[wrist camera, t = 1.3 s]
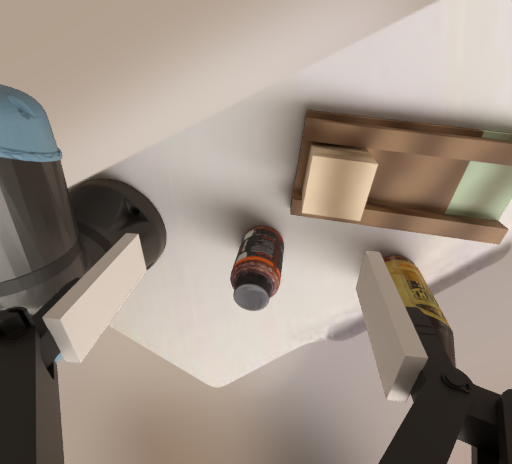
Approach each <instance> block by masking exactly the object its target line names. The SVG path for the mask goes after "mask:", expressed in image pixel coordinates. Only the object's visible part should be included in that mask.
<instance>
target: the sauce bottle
mask: <svg viewBox="0 0 512 464" xmlns="http://www.w3.org/2000/svg"><path fill="white" fill-rule="evenodd" d="M383 260H384V262H385V264H386V266H387V269H388V271H389V273H390V275H391V277H392V280H393V282H394V284H395V286H396V288H397V291H398V293H399V295H400V297H401V299H402V301H403V304H404V306H407V307H418V308H419V309H420V310H421V311H422V312H423V313H424V314H425V315H426V316H427V317H428V319H429V321H430V323H431V324H432V328H434V330H435V332H436V334H437V336H438V338H439V340H440V342H441V343H442V345H443V347H444V349H445V351H446V353H447V355H448V357H449V359H450V360H451V362H452V364H453V366H454V367H455V368H456V365H455V351H454V338H453V332H452V330H451V328H450V326H449V324H448V322H447V320H446V319H445V317H444V315H443V313H442V311H441V309H440V308H439V305H438V304H437V302H436V300H435V298H434V296H433V294H432V292H431V291H430V289H429V287H428V285H427V284H426V282H425V280H424V278H423V276H422V275H421V273H420V271H419V269H418V268H417V267H416V266H415V264H414V263H413V262H412V261H410V260H409V259H407V258H405V257H402V256H398V255H397V256H391V257H385V258H383Z"/></svg>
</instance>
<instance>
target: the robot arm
mask: <svg viewBox="0 0 512 464" xmlns="http://www.w3.org/2000/svg"><path fill="white" fill-rule="evenodd" d="M61 158H62V152H61V150H60V149H59V148H58V147H57V145H56V141H55V139H54V135H53V132H52V129H51V126H50V123H49V120H48V117H47V114H46V112H45V110H44V109H43V107H42V106H41V105H40V104H39V103H38V102H37V101H36V100H35V99H34V98H32V97H31V96H29V95H28V94H26V93H24V92H22V91H20V90H17V89H14V88H11V87H8V86H4V85H1V84H0V464H64V453H63V440H62V428H61V413H60V401H59V388H58V374H57V364H56V363H57V362H58V361H59V360H60V359H61V358H62V357H63V359H64V361H68V362H75V363H81V362H82V361H83V359H84V358H85V357H86V355H87V353H88V352H89V351H90V349H91V348H92V347H93V345H94V344H95V342H96V341H97V340H98V338H99V337H100V336H101V334H102V333H103V331H104V330H105V329H106V327H107V326H108V324H109V323H110V322H111V320H112V319H113V317H114V316H115V315H116V313H117V312H118V310H119V309H120V308H121V306H122V305H123V303H124V302H125V301H126V299H127V298H128V296H129V295H130V294H131V292H132V291H133V289H134V288H135V287H136V285H137V284H138V282H139V281H140V280H141V278H142V277H143V275H144V274H145V273H146V271H147V270H148V269H149V268H151V267H152V266H153V265H154V264H155V262H156V261H157V260H158V258H159V257H160V256H161V254H162V253H163V251H164V248H165V245H166V231H165V226H164V223H163V221H162V218H161V216H160V215H159V213H158V211H157V210H156V208H155V207H154V206H153V205H152V203H151V202H150V201H149V200H148V199H147V198H146V197H145V196H143V195H142V194H141V193H140V192H138V191H137V190H135V189H134V188H132V187H130V186H128V185H126V184H124V183H121V182H118V181H115V180H110V179H94V180H90V181H87V182H85V183H83V184H81V185H79V186H77V187H75V188H74V189H72V190H71V191H69V192H68V189H67V185H66V181H65V177H64V173H63V169H62V165H61V161H60V159H61ZM356 291H357V294H358V298H359V302H360V305H361V309H362V313H363V316H364V320H365V324H366V327H367V331H368V334H369V338H370V342H371V345H372V349H373V352H374V356H375V360H376V363H377V367H378V371H379V374H380V378H381V381H382V385H383V389H384V393H385V396H386V399H387V400H394V401H402V402H406V401H407V399H408V397H409V396H410V394H411V396H412V399H413V402H414V403H413V405H412V407H411V408H410V410H409V412H408V414H407V415H406V417H405V419H404V420H403V422H402V424H401V426H400V427H399V429H398V431H397V432H396V434H395V436H394V438H393V440H392V441H391V443H390V445H389V446H388V448H387V450H386V452H385V454H384V455H383V457H382V458H381V460H380V462H379V464H447V462H448V460H449V457H450V455H451V452H452V450H453V447H454V445H455V442H456V440H457V439H458V440H461V441H463V442H465V443H468V444H470V445H472V464H512V389H508V390H506V391H505V392H503V394H502V395H500V394H497V393H494V392H492V391H489V390H486V389H484V388H481V387H479V386H476V385H474V384H473V383H472V381H471V380H470V379H469V378H468V376H467V375H466V374H464V373H463V372H462V371H460V370H459V369H457V368H455V367H454V366H453V364H452V362H451V360H450V359H449V357H448V355H447V353H446V351H445V349H444V347H443V345H442V343H441V342H440V340H439V338H438V336H437V334H436V332H435V330H434V328H432V324H431V323H430V321H429V319H428V317H427V316H426V315H425V314H424V313H423V312H422V311H421V310H420V309H419V308H418V307H407V306H404V304H403V301H402V299H401V297H400V295H399V293H398V291H397V288H396V286H395V284H394V282H393V280H392V277H391V275H390V273H389V271H388V269H387V266H386V264H385V262H384V260H383V258H382V256H381V253H380V252H378V251H365V254H364V258H363V262H362V266H361V270H360V274H359V278H358V282H357V286H356Z"/></svg>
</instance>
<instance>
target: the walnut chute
mask: <svg viewBox="0 0 512 464" xmlns="http://www.w3.org/2000/svg"><path fill="white" fill-rule="evenodd" d="M311 141H313V142H321V143H329V144H337V145H345V146H353V147H362V148H366V149H367V150H368V151H369V153H370V154H371V155H372V157H373V158H374V159H375V161H376V162H377V163H378V166H377V170H376V173H375V176H374V179H373V182H372V185H371V189H370V192H369V195H368V198H367V201H366V205H365V208H364V211H363V214H362V217H361V220H360V221H355V220H348V219H341V218H334V217H327V216H320V215H313V214H306V213H302V189H303V184H304V178H305V173H306V167H307V162H308V156H309V151H310V145H311ZM511 199H512V133H504V132H495V131H487V130H478V129H469V128H460V127H452V126H443V125H434V124H425V123H417V122H408V121H399V120H390V119H382V118H373V117H364V116H355V115H347V114H338V113H329V112H320V111H312V110H307V113H306V119H305V125H304V131H303V137H302V143H301V149H300V155H299V161H298V167H297V173H296V179H295V185H294V191H293V197H292V203H291V210H290V212H291V213H290V214H291V215H298V216H305V217H312V218H319V219H326V220H333V221H340V222H347V223H354V224H361V225H368V226H375V227H382V228H389V229H396V230H403V231H410V232H416V233H423V234H430V235H437V236H444V237H451V238H458V239H465V240H472V241H479V242H486V243H493V244H500V242H501V241H502V239H503V238H504V236H505V234H506V233H507V231H508V230H509V229H508V228H506V227H505V226H504V225H503V224H501V223H500V222H499V221H498V220H499V219H500V217H501V215H502V214H503V212H504V210H505V209H506V207H507V205H508V204H509V202H510V200H511Z"/></svg>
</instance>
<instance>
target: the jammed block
mask: <svg viewBox="0 0 512 464" xmlns="http://www.w3.org/2000/svg"><path fill="white" fill-rule="evenodd" d="M377 166H378V163H377V162H376V161H375V159H374V158H373V157H372V155H371V154H370V153H369V151H368V150H367V149H366V148H362V147H353V146H345V145H337V144H329V143H321V142H313V141H311V145H310V151H309V156H308V162H307V167H306V173H305V178H304V184H303V189H302V213H306V214H313V215H320V216H327V217H334V218H341V219H348V220H355V221H360V220H361V217H362V214H363V211H364V208H365V205H366V201H367V198H368V195H369V192H370V189H371V185H372V182H373V179H374V176H375V173H376V170H377Z"/></svg>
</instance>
